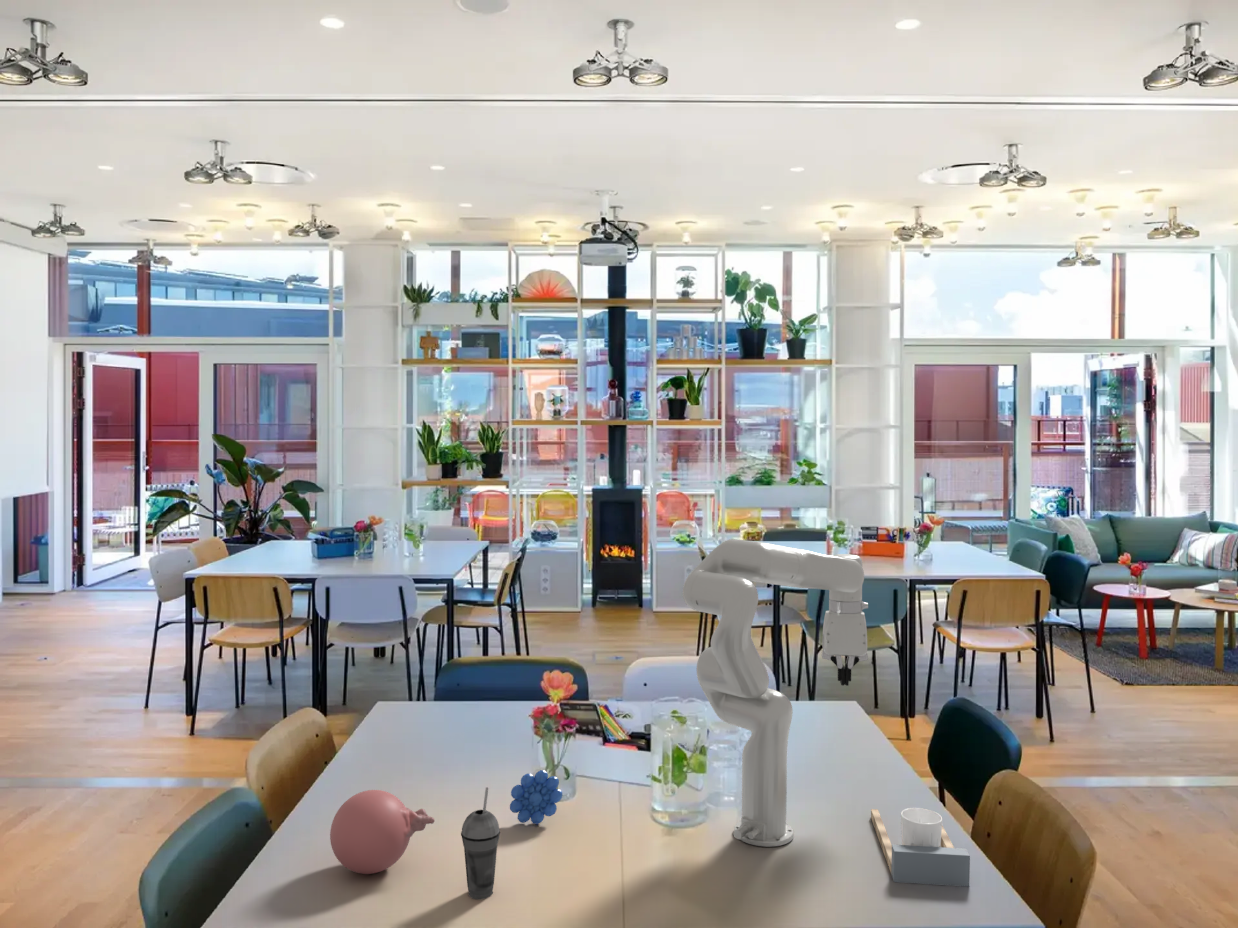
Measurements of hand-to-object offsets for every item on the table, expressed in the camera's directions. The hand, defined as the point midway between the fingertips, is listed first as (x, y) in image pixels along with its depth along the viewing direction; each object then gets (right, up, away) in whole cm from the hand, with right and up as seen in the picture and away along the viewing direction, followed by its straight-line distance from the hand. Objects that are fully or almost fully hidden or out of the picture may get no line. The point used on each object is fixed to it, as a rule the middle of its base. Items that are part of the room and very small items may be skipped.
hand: (844, 683), depth 220 cm
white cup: (+7, -29, -34) cm, 45 cm away
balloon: (-100, -28, -37) cm, 110 cm away
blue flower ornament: (-72, -27, -14) cm, 78 cm away
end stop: (+7, -29, -40) cm, 50 cm away
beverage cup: (-79, -29, -46) cm, 96 cm away
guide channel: (+9, -28, -26) cm, 39 cm away
